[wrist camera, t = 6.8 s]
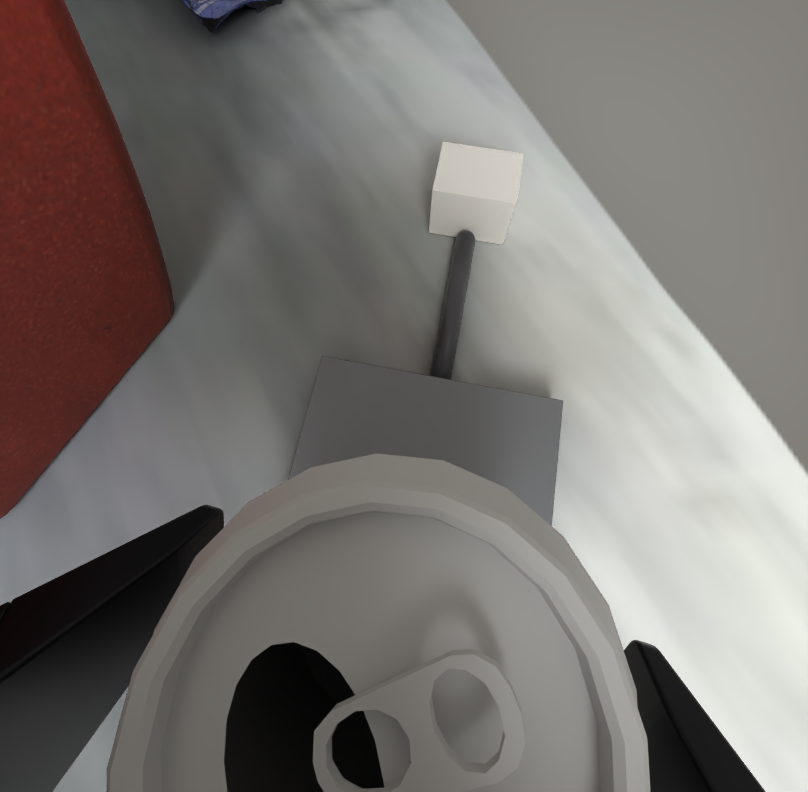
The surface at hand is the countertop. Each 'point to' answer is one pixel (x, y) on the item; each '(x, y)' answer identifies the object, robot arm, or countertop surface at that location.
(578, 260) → the countertop surface
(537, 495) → the pad
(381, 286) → the countertop surface
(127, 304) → the plant pot
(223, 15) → the snack package
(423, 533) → the can
